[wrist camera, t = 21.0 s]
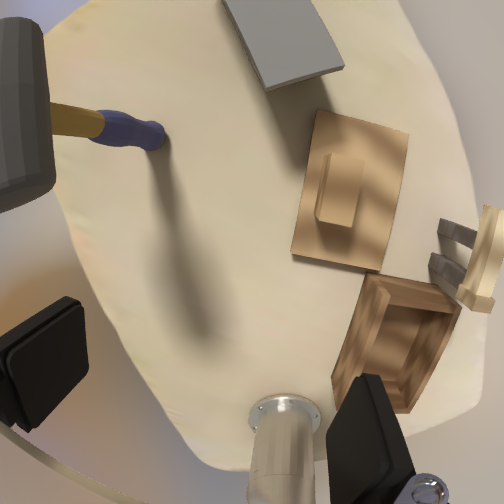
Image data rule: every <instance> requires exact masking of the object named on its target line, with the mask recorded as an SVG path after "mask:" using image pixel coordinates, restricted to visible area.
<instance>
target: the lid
mask: <svg viewBox="0 0 504 504" xmlns="http://www.w3.org/2000/svg"><path fill="white" fill-rule="evenodd" d="M408 137H409V134H406V133H403V132H400V131H397V130H394V129H391V128H388V127H384V126H381V125H377V124H374V123H370V122H367V121H363V120H359V119H356V118H352V117H348V116H344V115H339V114H335V113H331V112H326V111H322V110H317V111H316V117H315V123H314V129H313V135H312V140H311V146H310V152H309V158H308V163H307V169H306V174H305V180H304V185H303V190H302V196H301V201H300V206H299V211H298V216H297V221H296V226H295V231H294V236H293V241H292V246H291V253H292V254H297V255H302V256H307V257H312V258H317V259H322V260H328V261H333V262H338V263H343V264H348V265H353V266H358V267H363V268H368V269H373V270H378V271H380V269H381V265H382V262H383V258H384V255H385V251H386V247H387V243H388V239H389V235H390V231H391V227H392V223H393V219H394V214H395V210H396V205H397V200H398V196H399V191H400V186H401V180H402V175H403V169H404V163H405V157H406V151H407V144H408Z"/></svg>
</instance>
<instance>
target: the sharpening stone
mask: <svg viewBox="0 0 504 504" xmlns="http://www.w3.org/2000/svg"><path fill="white" fill-rule="evenodd" d="M222 2H223V4H224V6H225V8H226V10H227V12H228V14H229V16H230V18H231V20H232V22H233V24H234V26H235V28H236V30H237V33H238V35H239V37H240V39H241V41H242V43H243V45H244V48H245V50H246V52H247V54H248V56H249V59H250V61H251V63H252V65H253V67H254V69H255V71H256V73H257V75H258V77H259V79H260V81H261V83H262V85H263V87H264V89H265V92H268V91H271V90H274V89H277V88H280V87H283V86H287V85H290V84H293V83H296V82H300V81H303V80H306V79H310V78H313V77H317V76H320V75H324V74H328V73H332V72H336V71H340V70H343V68H344V66H345V64H344V62H343V59H342V57H341V55H340V53H339V51H338V49H337V47H336V45H335V43H334V41H333V40H332V38H331V36H330V34H329V32H328V30H327V28H326V26H325V25H324V23H323V21H322V19H321V17H320V16H319V14H318V12H317V11H316V9H315V7H314V5H313V4H312V2H311V0H222Z"/></svg>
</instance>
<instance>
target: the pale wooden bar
mask: <svg viewBox="0 0 504 504" xmlns="http://www.w3.org/2000/svg"><path fill="white" fill-rule="evenodd" d="M503 258H504V210H502V209H498V208H495V207H491V206H487V205H483V211H482V215H481V219H480V224H479V228H478V232H477V236H476V240H475V244H474V248H473V251H472V255H471V258H470V262H469V265H468V268H467V272H466V275H465V278H464V281H463V284H459V287H458V290H457V293H456V296H455V297H456V298H457V299H459V300H460V301H461V302H462V303H463V304H464V305H465V306H467V307H468V308H469V309H470V310H471V311H475V312H481V313H489V314H490V313H491V311H492V308H493V306H494V303H495V300H494V299H493V298H492V297H491V295H492V291H493V289H494V286H495V283H496V280H497V277H498V274H499V271H500V267H501V264H502V261H503Z"/></svg>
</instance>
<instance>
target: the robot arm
mask: <svg viewBox="0 0 504 504" xmlns="http://www.w3.org/2000/svg"><path fill="white" fill-rule="evenodd" d="M88 370H89V363H88V354H87V345H86V331H85V316H84V308H83V307H82V306H81V303H80V301H78V300H76V299H73V298H70V297H67V296H65V297H63V298H61V299H59V300H58V301H56V302H54V303H53V304H51V305H49V306H48V307H46V308H45V309H43V310H42V311H40V312H38V313H37V314H35V315H34V316H32V317H30V318H29V319H27V320H26V321H24V322H22V323H21V324H19V325H18V326H16V327H15V328H13V329H11V330H10V331H8V332H7V333H5V334H4V335H2V336H1V337H0V504H148V503H146V502H143V501H140V500H138V499H135V498H133V497H130V496H128V495H125V494H123V493H121V492H118V491H116V490H114V489H111V488H109V487H107V486H105V485H102V484H100V483H99V482H96V481H94V480H92V479H90V478H88V477H87V476H85V475H82V474H81V473H79V472H77V471H75V470H73V469H71V468H70V467H68V466H66V465H64V464H63V463H61V462H59V461H58V460H56V459H54V458H53V457H51V456H49V455H48V454H46V453H45V452H43V451H42V450H40V449H39V448H37V447H35V446H34V445H32V444H31V443H30V442H28V441H27V440H25V439H24V438H23V437H21V436H20V435H18V434H17V433H16V432H14V431H13V425H14V423H16V424H17V425H18V426H19V427H20V428H21V429H23V430H25V431H26V432H27V433H29V432H30V431H31V430H32V429H33V428H37V427H38V426H39V425H40V424H41V423H42V422H43V421H44V420H45V419H46V417H47V416H48V415H49V414H50V413H51V412H52V411H53V410H54V409H55V408H56V407H57V405H58V404H59V403H60V402H61V401H62V400H63V399H64V398H65V397H66V396H67V395H68V394H69V393H70V392H71V390H72V389H73V388H74V387H75V386H76V385H77V384H78V383H79V382H80V381H81V380H82V379H83V378H84V377H85V376H86V374H87V372H88ZM320 423H321V414H320V411H319V409H318V407H317V406H316V405H315V404H314V403H313V402H312V401H310V400H308V399H306V398H304V397H301V396H297V395H288V394H283V395H275V396H270V397H267V398H265V399H263V400H261V401H259V402H258V403H257V404H255V405H254V406H253V408H252V409H251V411H250V414H249V425H250V427H251V429H252V430H253V432H254V433H256V435H255V442H254V448H253V455H252V462H251V468H250V475H249V481H248V487H247V496H246V497H247V501H248V504H315V475H314V449H313V434H314V433H315V432H316V431H317V429H318V428H319V426H320ZM326 449H327V460H328V473H329V487H330V502H331V504H449V503H448V498H449V492H448V488H447V486H446V484H445V483H444V482H443V481H442V480H441V479H440V478H439V477H437V476H435V475H432V474H428V473H421V474H417V475H416V472H415V469H414V466H413V463H412V460H411V457H410V454H409V451H408V448H407V445H406V442H405V439H404V436H403V434H402V431H401V428H400V425H399V422H398V420H397V418H396V416H395V413H394V410H393V408H392V405H391V402H390V400H389V397H388V395H387V392H386V390H385V387H384V384H383V382H382V379H381V377H380V375H378V374H369V373H362V374H361V375H360V376H359V377H358V376H356V377H355V378H354V380H353V382H352V384H351V386H350V388H349V390H348V392H347V394H346V396H345V398H344V400H343V402H342V404H341V406H340V408H339V410H338V412H337V414H336V416H335V418H334V420H333V422H332V423H331V425H330V427H329V429H328V431H327V434H326Z"/></svg>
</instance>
